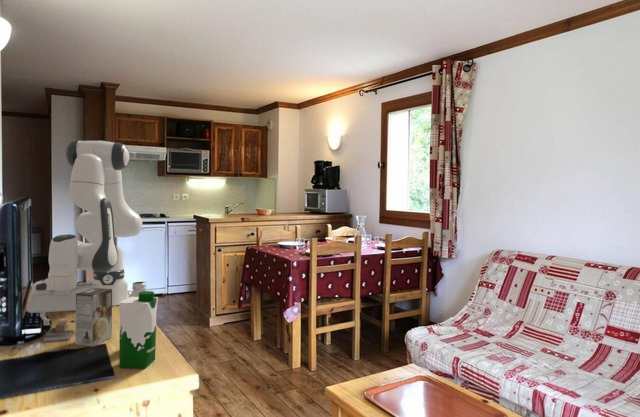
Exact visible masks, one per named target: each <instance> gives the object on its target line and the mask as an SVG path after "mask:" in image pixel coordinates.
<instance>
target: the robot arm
mask: <svg viewBox="0 0 640 417" xmlns="http://www.w3.org/2000/svg"><path fill="white" fill-rule="evenodd" d="M65 152H66V153H65V154H66V155H65V156H66V161H67V162H68V164H69V165H70V166H71V167H72V170H71V174H70V182H69V190H68V191H69V197H70V200H71V202H72V203H74V205H76V206H77V207H78V208H80V209H83V210H84V211H86V212H81V213H80V214H79V215H78V216H77V218H76V221H75V228H76V230H77V232H78V234H80V235H81V236H82V237H83V238H85V239H86V240H87V241H88V242H83V241H81V240H80V239H79V240H78V237H77V236H76V235H74V234H60V235H56V236H54V237H52V238H51V241H50V244H49V250H48V265H49V271H48V273H47V274H48V276H47V278H45V279H41V280H39V281H36V282H34V283H33V284H32V285H31V291H32V292H30V294H29V295H28V300H27V305H26V307H27V308H26V310H27V313H30V314H33V313H39V317H40V318H41V320H42V321H43V326H50V322H51V320H50V318H47V317H46V313H50V312H52V313H53V312H72V311H76V294H77V293H80V292H84V291H87V290H91V289H94V288H102V289H112V307H114V306H119V302H121V301H123V300H126V299H128V298H129V296H130V294H128V293H129V290H128V289H129V288H128V284H129V283H128V282H127V281H126V280H125V279H124V278H125V269H124V252H123V249H122V248H120V247H119V246H117V245H116V238H130V237H135V236H138V235H139V234H140V233H141V231H142V230H143V219H142V218H141V216H140V215H139V214H138V213H137V212H135V211H134V210H132V209H131V207H130V206H129V205H128V204H127V201H126V200H125V196H124V191H123V190H124V188H123V178H122V170H123V169H125V168H126V167H127V166H128V164H129V161H130V152H129V149H128V147H127V146H126V145H125V144H124V143H121V142H117V141H116V142H111V141H105V140H81V139H80V140H72V141H71V142H70V143H69V144H68V145H67V147H66V151H65ZM79 270H80V271H81V270H82V271H92V276H93V278H92V279H93V280H92V281H89V282H79Z"/></svg>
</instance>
